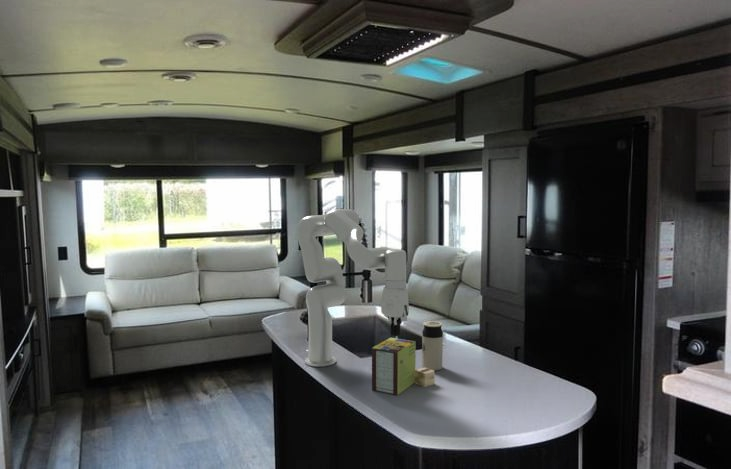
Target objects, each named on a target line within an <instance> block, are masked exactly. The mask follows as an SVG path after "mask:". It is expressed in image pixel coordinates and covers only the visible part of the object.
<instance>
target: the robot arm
mask: <svg viewBox="0 0 731 469" xmlns="http://www.w3.org/2000/svg"><path fill="white" fill-rule="evenodd" d="M359 224H360V216H359V215H358V213H357V212H356V211H355V210H353V209H350V208H342V209H340V208H337V209H331V210H329V211H328V212H326V214H319V215H318V214H317V215H307V216H305V217H302V219H300V220H299V222H298V223H297V226H296V237H297V239H296V240H297V241H298V243H299V247H300V251H301V256H302V262H303V267H304V274H305V277H306V279H307V281H308V282H310V283H313V284H314V283H320V282H326V284H321V285H315V286H313V287H310V288H309V289H308V290H307V292H306V293H305V303H306V308H307V314H308V315H307V316H308V319H307V320H308V349H306V350H305V351H304V353H305V354H307V357H305V359H304V364H306V365H307V366H309V367H315V368H317V367H318V368H319V367H320V368H321V367H322V368H324V367H330V366H333V365H334V364H335V363H337V359H336V357H335V356H333V320H332V319H333V318H332V315H331V314H330V311H329V308H332V307H338V306H340V305H342V304H344V302H345V300H346V296H347V293H346V286H345V280H344V275H343V269H342V266H341V264H340V262H339V261H338V259H336V258H335V257H330V256H329V257H325V256H324V253H323V252H324V251H323V247H322V245H321V243H320V241H319V240H318V239H317V238H316V237H326V236H336V237H338V238H339V239H340V240H341V241H342V242H343V243H344V244H345V246H346V251H347V254H348V256H349V258H350V259H351V260H352V261H353V262H354V263H355V264H356V265H357V266H359V267H360V268H362V269H363V270H367V271H368V270H369V271H372V270H376V269H378V270H379V269H384V287H383V290H382V296H381V305H380V306H381V309H380V310H381V311H380V312H381V314H382V315H383V316H384V317H385V318H387V319H388V322H389V325H390V336H393V337H398V336H400V335H401V325H402V324H403V322H407V321H408V316H409V310H410V309H409V308H410V307H409V306H410V305H409V293H408V289H407V252H406V250H403V249H396V248H395V249H394V248H390V247H387V246H384V247H383V246H382V247H371V248H368V247H366V246H365V245H364V244H362V242H361V241H362V239H363V237H364V228H362V227H361V226H360V225H359Z"/></svg>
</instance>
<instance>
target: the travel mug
mask: <svg viewBox="0 0 731 469" xmlns="http://www.w3.org/2000/svg"><path fill="white" fill-rule="evenodd" d="M422 325H423V330H422V331H421V332H422V338H421V340H422V342H421V344H422V346H421V349H422V350H421V352H422V353H421V356H422V357H421V368H424V367H425V368H428V369H431V370H434V371H435V372H436V371H440V370H442V369H443V343H444V342H443V338H444V337H443V336H444V335H443V334H444V333H443V330H442V326H443V323H442V322H440V321H435V320H434V321H433V320H430V321H429V320H428V321H424V322H423V323H422Z"/></svg>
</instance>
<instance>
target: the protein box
mask: <svg viewBox="0 0 731 469" xmlns="http://www.w3.org/2000/svg"><path fill="white" fill-rule="evenodd" d="M416 346H417V345H416V341H415V340H409V339H404V338H398V337H397V338H396V337H389V338H387V339H386V340H384V341H382V342H380V343H378V344H376V345H374V346H373V347H372V348H371V390H372V391H374V390H375V391H374V392H379V393H384V394H388V395H389V394H390V395H395V396H398V395H400V394H401V393H403V392H404V391H405V390H406V389H408V388H409V387H411V385H413V384H415V370H416V349H417V348H416Z"/></svg>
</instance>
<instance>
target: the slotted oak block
mask: <svg viewBox="0 0 731 469" xmlns="http://www.w3.org/2000/svg"><path fill="white" fill-rule="evenodd" d="M435 372H436V371H434V370H431V369H428V368H425V367H424V368H422V367H421V368H418V369H415V382H414V384H416V385H418V386H421V387H422V388H423V387H424V388H427V387H429V386H433V385H435Z"/></svg>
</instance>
